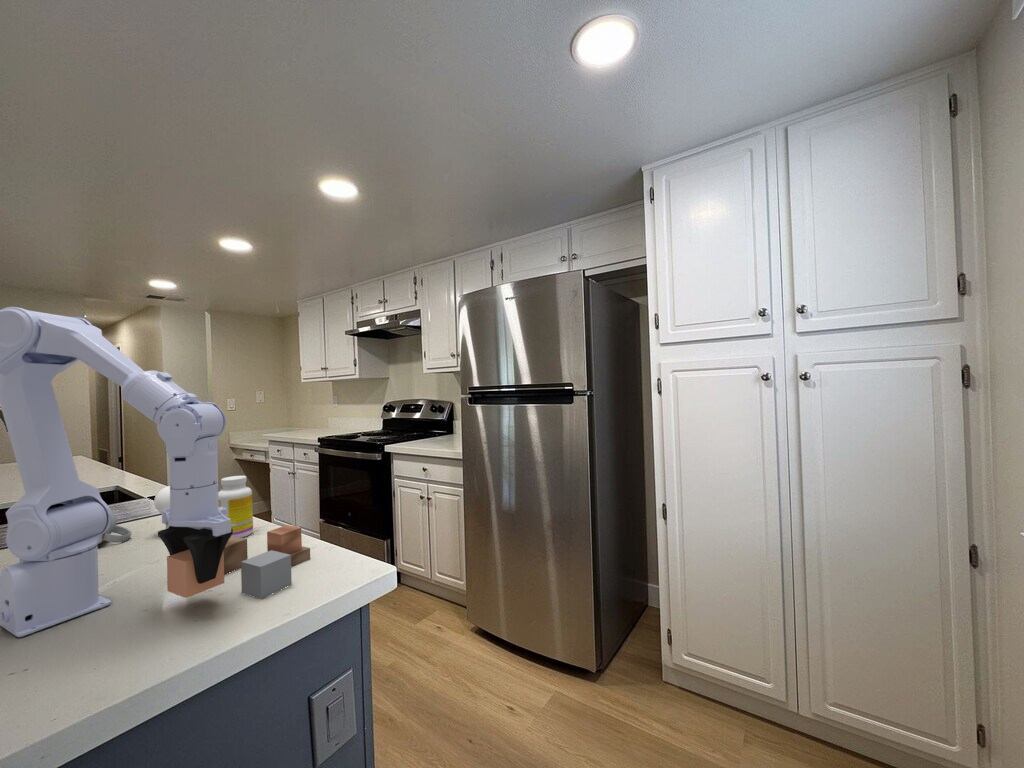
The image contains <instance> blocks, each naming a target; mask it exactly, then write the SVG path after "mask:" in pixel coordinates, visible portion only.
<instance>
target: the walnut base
mask: <svg viewBox="0 0 1024 768" xmlns="http://www.w3.org/2000/svg"><path fill="white" fill-rule="evenodd" d="M248 557H249V556H248V538H245V537H243V538H238V537H230V539H229V540H228V542H227V544H226V546H225V548H224V576H226V575H228V574H230V573H229V572H231V573H232V571H233V572H234V570H235V571H237V570H239V569H241V561H244V560H247V559H249V558H248ZM236 569H237V570H236ZM227 573H228V574H227ZM225 574H226V575H225Z"/></svg>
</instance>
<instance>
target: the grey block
mask: <svg viewBox="0 0 1024 768" xmlns="http://www.w3.org/2000/svg"><path fill="white" fill-rule="evenodd" d="M262 553H263V554H262ZM262 553H260V554H257V555H255V556H253V557H250V558H248V559H247V560H244V561H241V568H240V569H241V570H240V580H241V594H244V593H245V594H244V595H247V594H248V595H247V596H250V595H251V596H250V597H253V596H254V597H253V598H256V597H257V598H256V599H259V598H260V599H259V600H264V599H265V598H268V597H269V595H270V596H272V595H273V594H272V593H274V594H276V593H278V592H280V591H282V590H284V589H283V588H285V587H287V586H289V587H290V585H291V586H292V584H293V583H292V567H291V555H289V554H285V553H281V552H277V551H273V550H271V551H268V550H267V551H265V552H262ZM287 588H288V587H287ZM281 589H282V590H281ZM285 589H286V588H285ZM279 590H280V591H279ZM277 591H278V592H277ZM275 592H276V593H275ZM271 594H272V595H271ZM267 596H268V597H267Z"/></svg>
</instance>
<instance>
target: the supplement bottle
mask: <svg viewBox="0 0 1024 768" xmlns="http://www.w3.org/2000/svg"><path fill="white" fill-rule="evenodd" d="M247 480H248V479H247V476H246V475H234V476H233V475H232V476H227V477H223V478H221V480H220V484H221V487H222V489H220V491H219V490H218V507H223V508H226V513H223V514H224V516H225V517H227V518H230V519H231V528H232V529H233V534H232V535H231V537H238V538H245V537H247V536H249V535H251V534H253V532H254V514H253V510H254V509H253V490H252V489H251V488H250V487H249V486H246V483H247Z"/></svg>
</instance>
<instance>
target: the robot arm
mask: <svg viewBox="0 0 1024 768" xmlns="http://www.w3.org/2000/svg"><path fill="white" fill-rule="evenodd" d="M78 361H80V362H82V363H84V364H85V365H86V366H88V367H89V368H91V369H93V370H94V371H96V372H98V373H99V374H100V375H102V376H103V377H104V378H107V379H109V380H110V381H112V382H113V383H115V384H116V385H118V386H119V387H121V398H122V400H123V401H125V402H126V403H128V404H129V405H130V406H132V407H133V408H134V409H136V410H137V411H139V412H140V413H141V414H143V416H145V417H146V418H148V419H150V420H151V421H152V422H153V423H155V424H156V430H157V433H158V436H159V437H160V438H161V440H162V441H163V442H164V444H165V449H166V450H165V451H166V452H165V453H166V454H168V455H167V456H168V458H169V461H168V462H169V486H170V509H168V510H164V511H162V514H161V523H162V524H163V525H165V524H169V525H170V526H169V528H168V529H161V530H159V531H158V532H157V536H158V538H159V539H160V540H161V541H162V543H163V544H164V546H165V547H166V549H167V552H168V554H169V556H170V555H173V554H177V553H180V552H183V551H186V550H190V552H191V555H192V558H193V562H194V569H195V575H196V579H197V582H198V583H199V584H202V583H204V582H207V581H210V580H212V579H215V578H216V575H217V571H218V567H219V563H220V559H221V556H222V553H223V550H224V548H225V546H226V544H227V542H228V540H229V539H230V537H231V535H232V534H233V529H232V528H231V519H230V518H227V517H225V516H224V514H223V513H226V508H223V507H218V492H219V460H218V459H219V458H218V455H219V453H218V452H219V451H218V437H219V436H220V435H221V434H223V432H224V431H225V429H226V423H227V419H226V414H225V413H224V411H223V410H222V409H221V408H220V407H219V405H218V404H217V403H214V402H211V401H204V402H203V401H200V400H199V399H198V396H197V395H196V394H194V392H193V393H191V392H190V393H189V392H187V391H186V390H185V389H183V388H182V387H181V386H180V385H178V384H177V383H176V382H174V381H173V380H172V379H173V378H174V377H173V375H172V374H170V373H168V372H166V371H163V372H162V371H158V370H154V369H153V370H143V369H142V368H141V366H139V365H138V364H137V363H136V362H134V361H133V360H132V359H131V358H129V357H128V356H127V355H126V354H124V353H123V351H121V350H120V349H119V348H118V347H116V346H115V345H114V344H113V343H111V342H110V340H108V339H107V338H105V336H103V330H102V329H101V328H99V327H97V326H96V325H93V324H92V323H91V322H90V321H88V320H87V319H85V318H83V317H79V316H66V315H60V314H52V313H46V312H41V311H37V310H36V311H34V310H28V309H25V308H22V307H17V306H7V307H4V308H1V309H0V407H1V413H2V415H3V420H4V422H5V425H6V429H7V433H8V436H9V440H10V444H11V447H12V451H13V454H14V458H15V460H16V461H15V462H16V465H17V468H18V471H19V476H20V479H21V482H22V486H23V488H24V494H23V496H21V497H20V498H19V499H18V500H17V501H16V502H15V503H13V504H12V505H11V506H10V507H9V508H8V509H7V511H5V516H6V519H7V530H6V535H5V543H6V546H7V548H8V550H9V551H10V552H11V554H12V556H15V557H17V558H18V559H19V562H17V563H14V564H11V565H7V566H5V567H3V568H2V569H1V571H0V626H1V628H3V629H5V630H6V631H8V632H9V633H11V634H13V635H14V636H15V637H17V638H21V637H24V636H27V635H30V634H33V633H35V632H38V631H41V630H44V629H47V628H49V627H53V626H55V625H57V624H60V623H63V622H65V621H68V620H69V621H70V620H71V619H74V618H76V617H80V616H82V615H85V614H88V613H91V612H93V611H97V610H98V609H101V608H102V609H103V607H108V606H110V605H111V604H112V600H111V599H109V598H107V597H104V596H101V595H100V594H99V593H100V591H99V589H100V588H99V556H98V555H99V552H98V545H99V544H98V543H99V542H101V541H102V534H104V533H105V532H106V531H107V530H108V529H109V527H110V525H111V521H112V513H111V511H112V510H111V509H110V507H109V505H108V504H107V503H106V502H105V501H104V500H103V498H102V496H101V494H100V491H99V488H97V487H96V486H94V485H93V484H89V483H87V482H86V481H82V480H81V479H80V478H79V474H78V471H77V468H76V463H75V460H74V457H73V453H72V450H71V446H70V443H69V442H70V441H69V440H68V436H67V432H66V429H65V425H64V421H63V419H62V415H61V412H60V409H59V404H58V401H57V397H56V394H55V390H54V387H53V384H52V383H53V382H52V381H53V380H54V379H55V378H56V376H57V375H58V374H60V373H63V372H65V371H66V370H67V369H68V368H70V367H71V366H73V365H75V363H77V362H78ZM58 504H63V505H62V506H57V507H53V508H50V507H51V506H54V505H58ZM49 508H50V509H49ZM102 542H103V541H102ZM102 542H101V543H102ZM97 544H98V545H97Z"/></svg>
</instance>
